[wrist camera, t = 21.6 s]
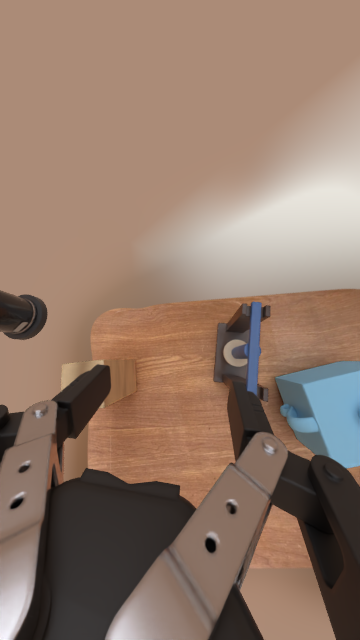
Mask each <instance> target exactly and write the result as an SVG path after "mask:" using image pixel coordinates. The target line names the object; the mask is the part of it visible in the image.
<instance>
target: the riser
mask: <svg viewBox="0 0 360 640" xmlns="http://www.w3.org/2000/svg"><path fill="white" fill-rule="evenodd" d="M97 364H100V365H108V366H110V374H111V390H110V393H109V395H108V396H107V398H106V399H105V400H104V402H103V403H102V404H101V406H100V407H99V408H105V407H107V406H109V405H111V404H113V403H115V402H117V401H119V400H121V399H123V398H125V397H127V396H129V395H131V394H132V393H134V392H136V391H137V384H136V365H135V359H103V360H95V361H86V362H77V363H68V364H62V375H61V391H62V390H63V389H64V388H66V387H67V386H68V385H69V384H70V383H71V382H72V381H74V380H75V379H76V378H77V377H78V376H79V375H81V374H83V373H85V372H86V371H90V370H91V369H92V368H93V367H94V366H96V365H97ZM99 408H98V409H99Z"/></svg>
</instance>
